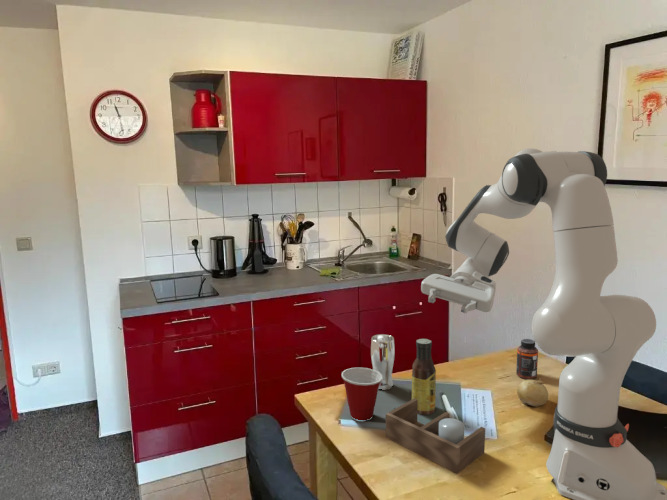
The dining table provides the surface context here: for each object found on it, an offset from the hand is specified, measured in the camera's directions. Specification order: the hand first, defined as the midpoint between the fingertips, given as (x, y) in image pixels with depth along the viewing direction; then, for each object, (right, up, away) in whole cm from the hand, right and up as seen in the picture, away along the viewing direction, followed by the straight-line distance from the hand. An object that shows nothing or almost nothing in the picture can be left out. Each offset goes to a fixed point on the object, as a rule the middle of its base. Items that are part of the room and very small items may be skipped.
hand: (446, 305), depth 134 cm
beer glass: (-16, -26, +15) cm, 34 cm away
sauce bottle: (-6, -29, 0) cm, 29 cm away
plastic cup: (-23, -29, -2) cm, 37 cm away
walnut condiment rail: (-7, -32, -17) cm, 37 cm away
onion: (+24, -27, +3) cm, 37 cm away
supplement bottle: (+29, -24, +20) cm, 43 cm away
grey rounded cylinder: (-4, -31, -21) cm, 38 cm away
